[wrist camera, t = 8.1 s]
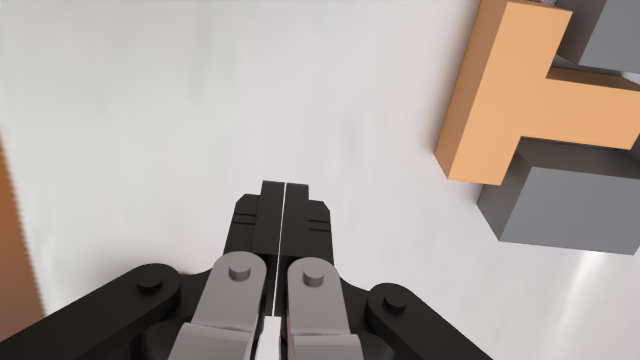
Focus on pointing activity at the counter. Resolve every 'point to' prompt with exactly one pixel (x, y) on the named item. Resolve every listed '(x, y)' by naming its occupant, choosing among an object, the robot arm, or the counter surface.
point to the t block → (527, 94)
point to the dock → (576, 155)
